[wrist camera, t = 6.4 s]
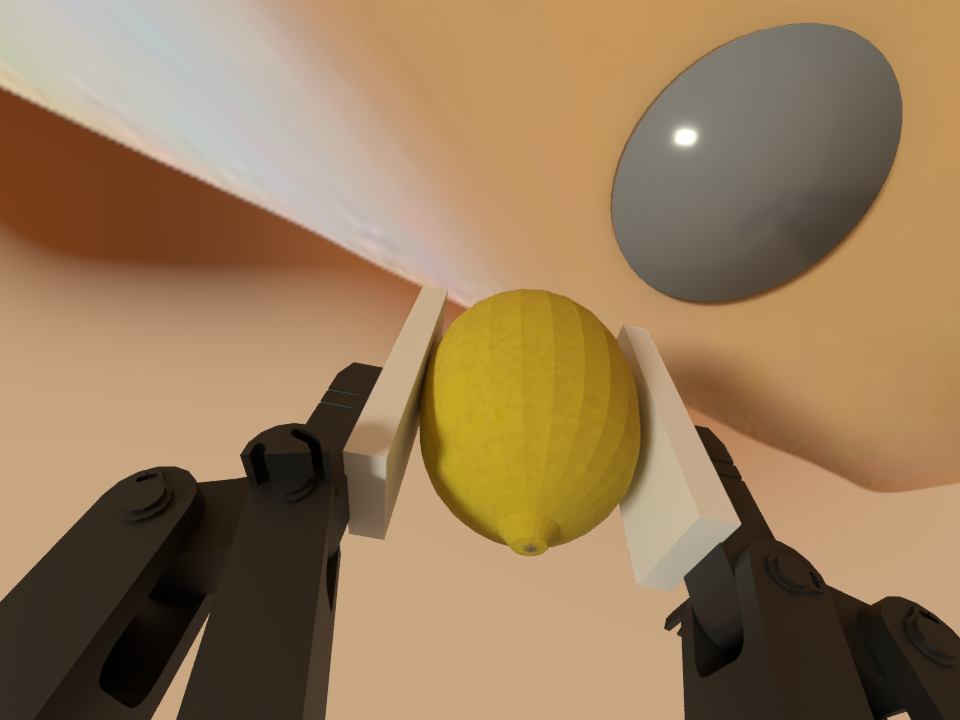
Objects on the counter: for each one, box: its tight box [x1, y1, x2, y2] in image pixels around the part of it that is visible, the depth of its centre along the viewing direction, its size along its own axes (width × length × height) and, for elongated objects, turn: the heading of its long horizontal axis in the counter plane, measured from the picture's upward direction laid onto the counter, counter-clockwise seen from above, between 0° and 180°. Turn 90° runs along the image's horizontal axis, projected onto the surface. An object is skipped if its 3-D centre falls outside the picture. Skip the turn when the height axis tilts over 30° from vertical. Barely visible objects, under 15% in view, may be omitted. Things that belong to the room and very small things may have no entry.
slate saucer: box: [611, 23, 902, 302], centre depth 22 cm, size 14×14×1 cm
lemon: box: [419, 289, 640, 556], centre depth 10 cm, size 6×6×8 cm
